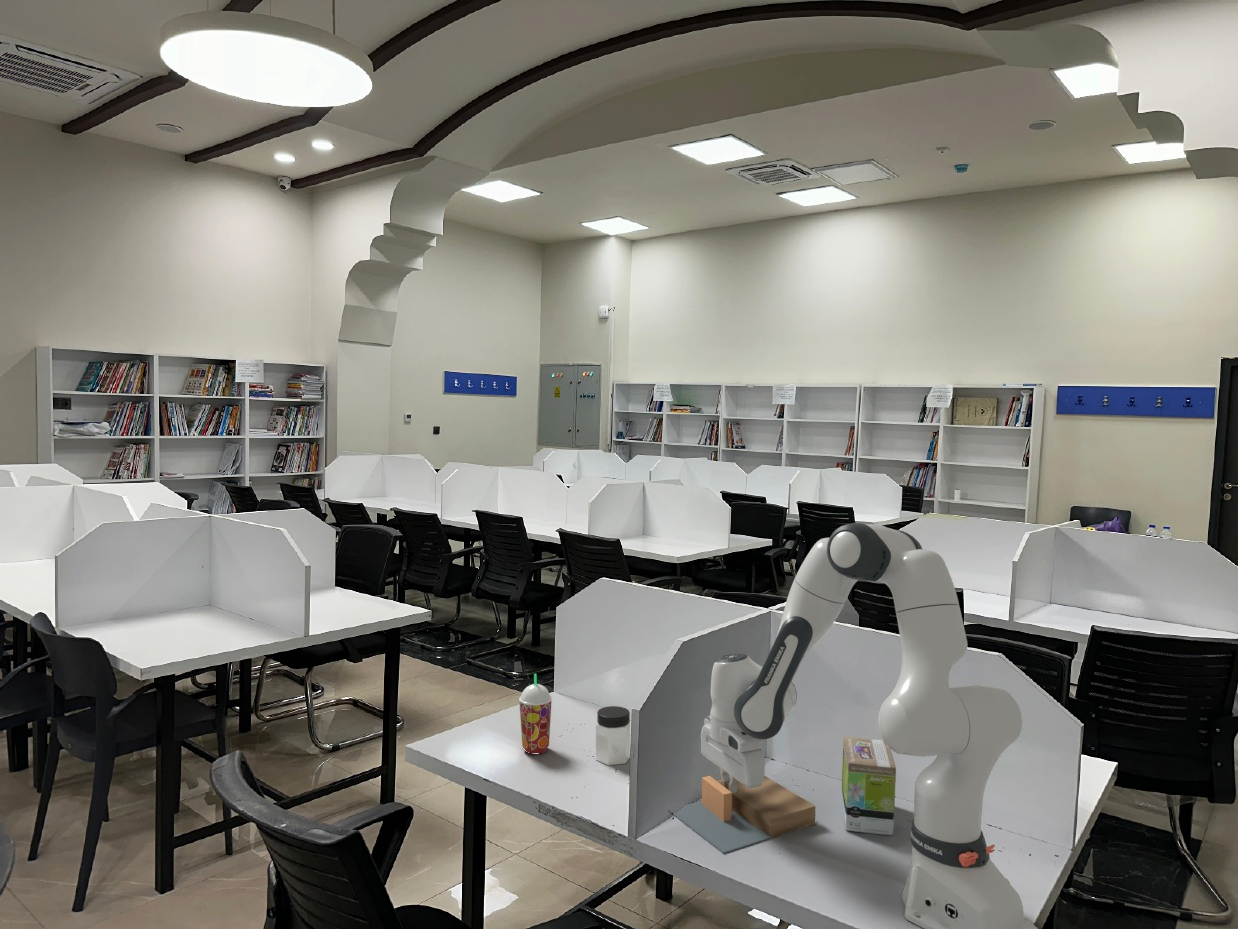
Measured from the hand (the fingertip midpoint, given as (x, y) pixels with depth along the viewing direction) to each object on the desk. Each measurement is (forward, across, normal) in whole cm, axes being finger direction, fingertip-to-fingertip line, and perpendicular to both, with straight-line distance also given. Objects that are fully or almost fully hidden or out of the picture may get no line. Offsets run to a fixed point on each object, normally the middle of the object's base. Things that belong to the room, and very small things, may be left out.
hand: (729, 790), depth 182 cm
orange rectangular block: (+2, -1, -2) cm, 3 cm away
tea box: (+5, +14, +26) cm, 30 cm away
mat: (+5, +3, -5) cm, 8 cm away
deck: (+5, +3, +7) cm, 9 cm away
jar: (+5, -36, -11) cm, 38 cm away
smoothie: (+5, -49, -27) cm, 56 cm away
